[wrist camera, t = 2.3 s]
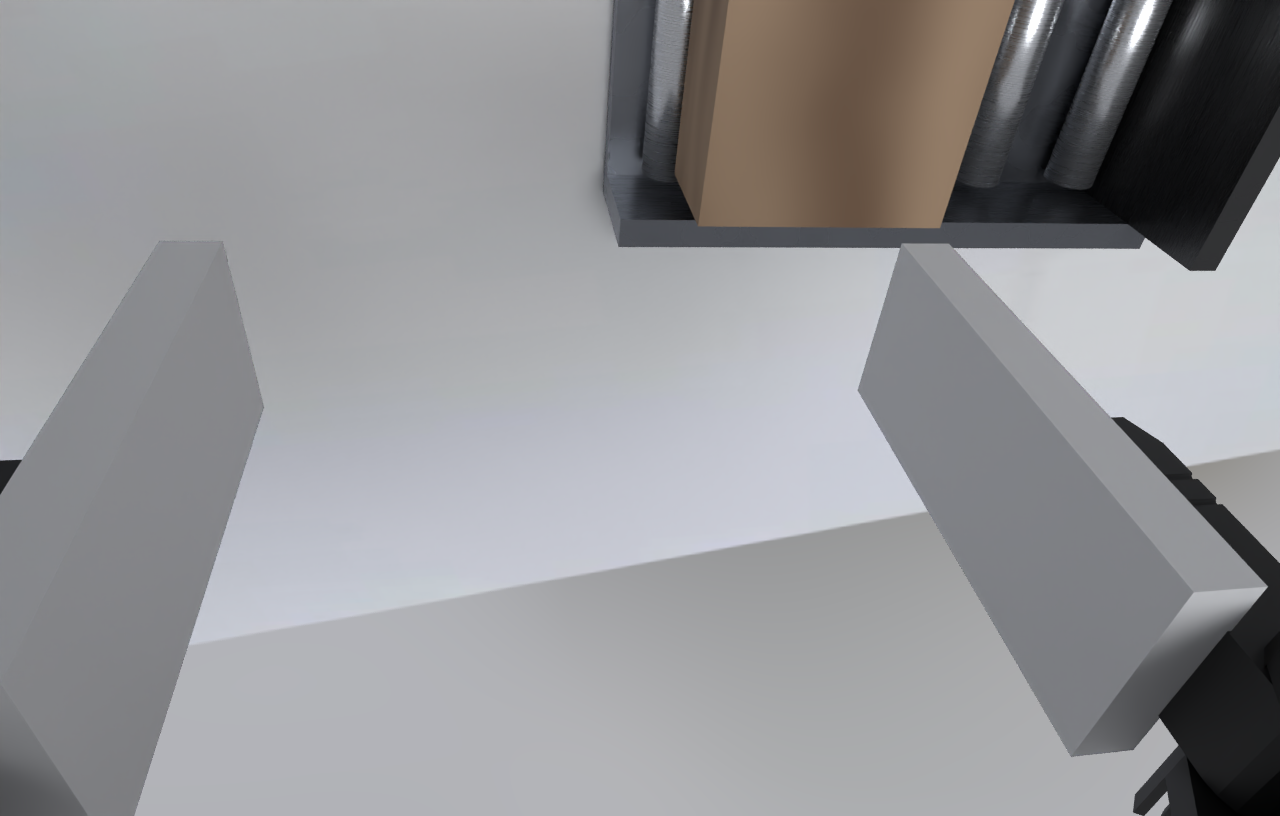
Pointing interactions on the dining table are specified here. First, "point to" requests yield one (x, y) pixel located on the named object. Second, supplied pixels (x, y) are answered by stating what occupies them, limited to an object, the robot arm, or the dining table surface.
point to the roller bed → (1016, 132)
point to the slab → (831, 109)
